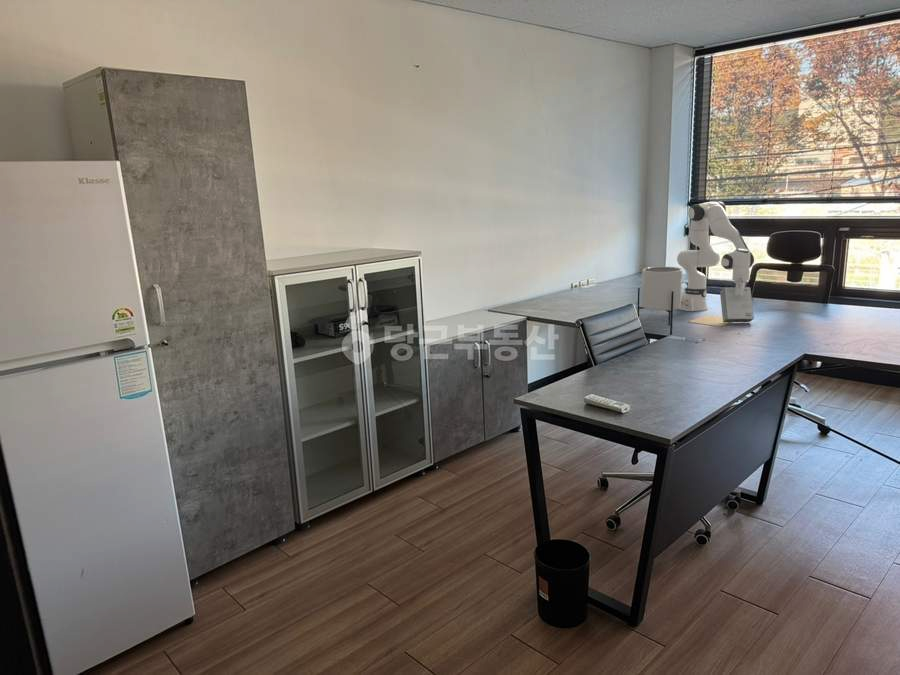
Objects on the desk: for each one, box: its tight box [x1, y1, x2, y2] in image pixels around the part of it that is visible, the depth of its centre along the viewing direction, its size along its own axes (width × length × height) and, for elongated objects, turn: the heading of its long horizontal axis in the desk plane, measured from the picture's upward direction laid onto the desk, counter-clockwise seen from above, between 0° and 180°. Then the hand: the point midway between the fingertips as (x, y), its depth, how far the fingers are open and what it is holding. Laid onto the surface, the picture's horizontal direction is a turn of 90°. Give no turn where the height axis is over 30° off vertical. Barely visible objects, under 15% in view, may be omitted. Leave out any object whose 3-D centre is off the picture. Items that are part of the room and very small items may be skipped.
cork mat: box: [688, 314, 733, 328], centre depth 371 cm, size 20×22×1 cm
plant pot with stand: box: [637, 266, 683, 335], centre depth 355 cm, size 24×24×36 cm
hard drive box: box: [719, 286, 755, 324], centre depth 362 cm, size 16×8×20 cm, turn 84°
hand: (739, 300), depth 357 cm, fingers closed
